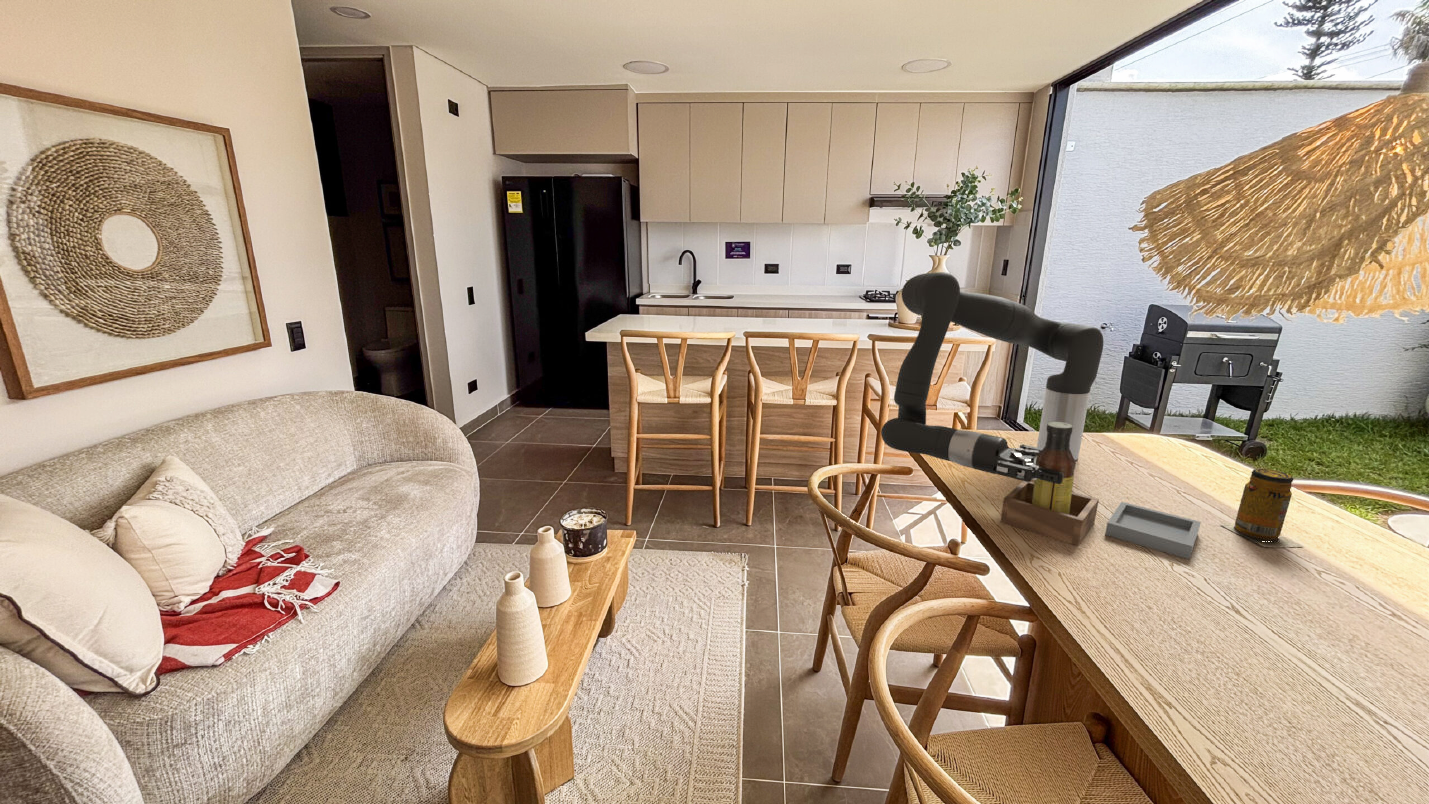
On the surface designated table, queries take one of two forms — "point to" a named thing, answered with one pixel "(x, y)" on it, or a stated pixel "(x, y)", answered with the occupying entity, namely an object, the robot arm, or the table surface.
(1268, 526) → the condiment
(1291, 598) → the table surface
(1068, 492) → the sauce bottle
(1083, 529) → the holder
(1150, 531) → the tray
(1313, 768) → the table surface
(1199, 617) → the table surface
